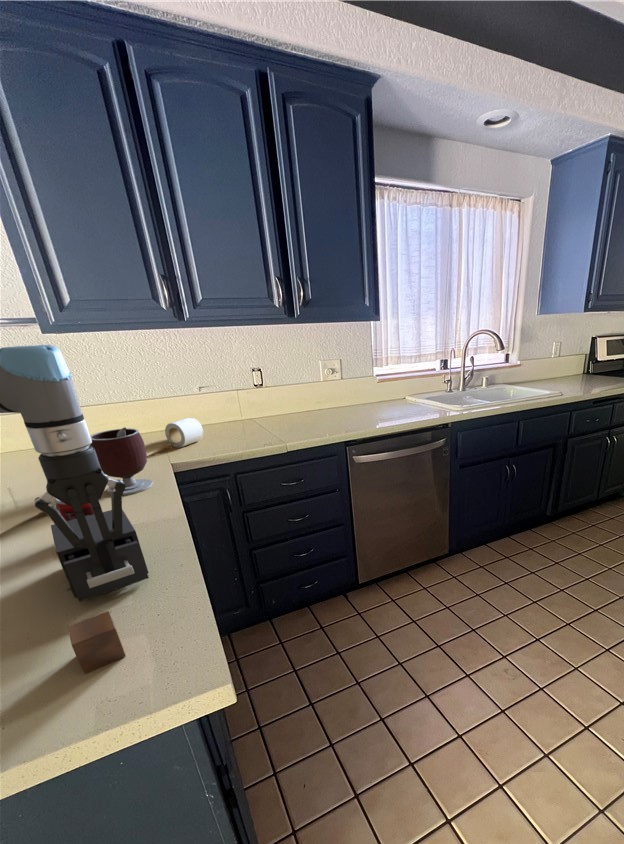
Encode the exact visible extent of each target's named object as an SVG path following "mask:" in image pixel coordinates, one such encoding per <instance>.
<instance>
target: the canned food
mask: <svg viewBox="0 0 624 844" xmlns="http://www.w3.org/2000/svg"><path fill="white" fill-rule="evenodd" d="M54 501H55V504H56V505H57V508H58V509H57V510H58V511H59V513H60V514H61V515H62V517H63V518H64V519H65V520H66V521H70V520H74V519H77V518H76V516H75V513H74V510H73V508H72V506H69V505H67V504H65V503H63V502H62V501H60V500H58V499H56V498H55V500H54ZM82 509H83V512H84V515H85V517H86V516H90V515H94V512H93V510H92V507H91V504H90V503H89V504H84V505H82Z"/></svg>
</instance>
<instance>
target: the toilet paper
mask: <svg viewBox="0 0 624 844" xmlns="http://www.w3.org/2000/svg"><path fill="white" fill-rule="evenodd" d="M164 435H165V438H166V439H167V441H168V443H170V445H172V446H173V447H175V448H178V449H180V448H183V447H185V446H188V445H191V444H194V443H196V442H199V441H201V440H202V439H203V438H204V429H203V427H202V424H201V423H200V422H199V421H198V419H196V418H194V417H187V418H183V419H179V420H175V421H173V422H170V423H167V424H166V426H165V428H164Z"/></svg>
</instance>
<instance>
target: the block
mask: <svg viewBox="0 0 624 844" xmlns="http://www.w3.org/2000/svg"><path fill="white" fill-rule="evenodd" d="M67 629H68V635H69V640H70V644H71V647H72V650H73V652H74V654H75V657H76V659H77V662H78V663H79V666H80V669H81V670H82V673H83V674H84V675H85V674H87V673H90V672H92V671H95V670H98V669H100V668H102V667H104V666H106V665H108V664H109V665H110V664H111V663H114V662H116V661H118V660H121V659H123V658H126V656H127V655H126V653H125V650H124V646H123V645H122V644H123V643H122V641H121V638H120V635H119V633H118V630H117V627H116V625H115V621H114V619H113V617H112V614H111V611H110V610H108V611H104V612H102V613H99V614H97V615H94V616H91V617H88V618H86V619H83V620H81V621H77V622H74V623H72V624H69V625H68V626H67Z"/></svg>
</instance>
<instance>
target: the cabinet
mask: <svg viewBox="0 0 624 844" xmlns="http://www.w3.org/2000/svg"><path fill="white" fill-rule="evenodd" d="M103 514H104V517H105V520H106V523H107V526H108V529H109V531H110V530H111V529H112V509H110V510H105V511H103ZM85 518H86V520H87V523H88V526H89V529H90V531H91V534H92V537H93V540H94V542H97V541H100V540H103V537H102V535H101V532H100V529H99V526H98V524H97V521H96V518H95V515H90V516H86V517H85ZM66 522H67V523H68V524H69V526H70V527H71V528H72V529H73V531H74V532H75V533H76V535H77V536H78V537H79V538H84V537H83V534H82V532H81V529H80V526H79V524H78V521H77V519H74V520H70V521H66ZM50 527H51V528H50V529H51V533H52V538H53V545H54V549H55V553H56V555H57V558H58V561H59V563H60V565H61V568H62V570H63V572H64V575H65V577H66V580H67V582H68V585H69V587H70V590H71V592H72V595H73V597H74V598H77V595H76V593H75V590H74V588H73V585H72V583H71V580H70V578H69V576H68V573H67V571H66V568H65V566H64V562H66V561H69V558H68V554H70V553H73V552H77V551H80V550H84V549H87V548H79V549H76V548H74V547H73V546H72V545H71V543H70V542H69V541H68V540H67V538H66V537H65V536H64V535H63V533H62V532H61V531H60V530H59V528H58V527H57V526H56V525H55V523H53V524H50ZM122 528H123V534H122V536H120V537H117V538H115V539H114V541H115V540H118V539H122V538H125V537H129V539H130V541H131V542H134V541H137V543H138V546H139V549H140V552H141V555H142V558H143V562H144V565H145V568H146V571H147V574H149V569H148V565H147V563H146V560H145V557H144V553H143V549H142V547H141V543H140V541H139V538H138V535H137V531H136V529H135V527H134V526H133V524H132V523H131V521H130V520H129V517H128V516H127V514H126V513H125V511H124V510H123V509H122Z"/></svg>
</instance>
